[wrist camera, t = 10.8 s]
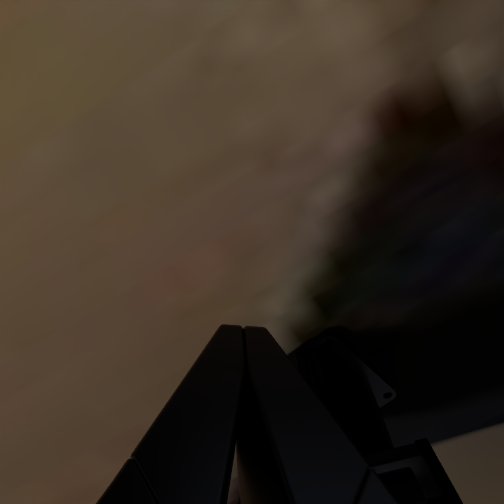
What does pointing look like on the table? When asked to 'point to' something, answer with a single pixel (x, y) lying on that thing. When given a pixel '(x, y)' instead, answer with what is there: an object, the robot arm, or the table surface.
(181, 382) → the robot arm
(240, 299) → the table surface
